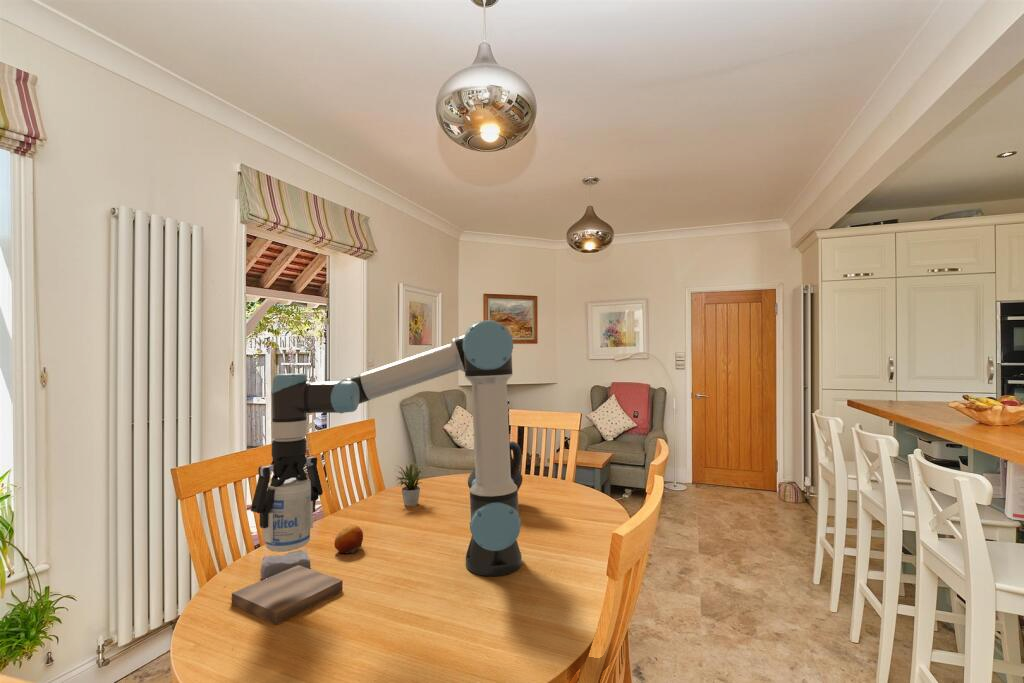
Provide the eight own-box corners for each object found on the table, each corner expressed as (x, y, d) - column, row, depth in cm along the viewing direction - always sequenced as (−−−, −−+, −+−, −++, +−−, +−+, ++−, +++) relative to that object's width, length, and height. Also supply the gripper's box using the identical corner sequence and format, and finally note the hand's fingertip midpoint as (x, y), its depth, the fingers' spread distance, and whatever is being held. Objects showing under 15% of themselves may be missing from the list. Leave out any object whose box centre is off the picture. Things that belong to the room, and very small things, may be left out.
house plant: (389, 500, 188) (389, 458, 189) (424, 496, 193) (424, 456, 193) (391, 511, 175) (391, 466, 175) (429, 507, 179) (429, 463, 180)
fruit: (360, 552, 134) (347, 526, 135) (338, 565, 136) (325, 539, 137) (374, 541, 142) (361, 517, 143) (353, 553, 144) (341, 529, 145)
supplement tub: (263, 556, 106) (264, 489, 107) (267, 541, 115) (267, 479, 116) (310, 549, 110) (311, 484, 111) (310, 535, 119) (311, 475, 119)
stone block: (259, 574, 129) (260, 581, 120) (260, 555, 130) (261, 560, 121) (307, 566, 134) (311, 572, 126) (307, 548, 136) (311, 553, 127)
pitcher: (491, 495, 193) (490, 433, 194) (536, 505, 180) (535, 438, 181) (457, 509, 176) (456, 441, 177) (504, 520, 164) (503, 447, 164)
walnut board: (342, 590, 115) (342, 580, 115) (276, 624, 100) (276, 612, 101) (298, 574, 124) (298, 565, 124) (231, 604, 109) (231, 593, 109)
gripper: (319, 431, 125) (319, 517, 124) (232, 444, 106) (231, 546, 105) (338, 433, 121) (338, 522, 120) (252, 447, 102) (251, 553, 101)
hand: (288, 533), depth 113 cm, fingers closed on supplement tub, 10 cm apart
